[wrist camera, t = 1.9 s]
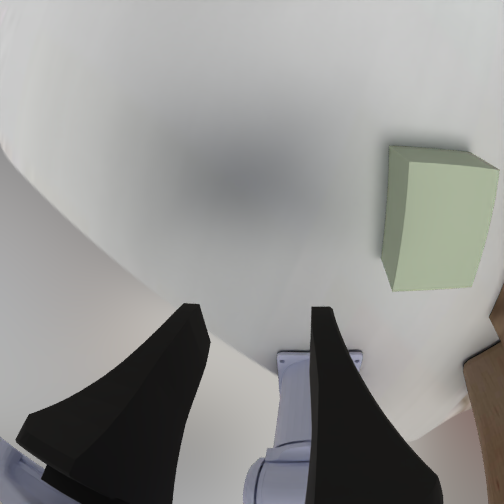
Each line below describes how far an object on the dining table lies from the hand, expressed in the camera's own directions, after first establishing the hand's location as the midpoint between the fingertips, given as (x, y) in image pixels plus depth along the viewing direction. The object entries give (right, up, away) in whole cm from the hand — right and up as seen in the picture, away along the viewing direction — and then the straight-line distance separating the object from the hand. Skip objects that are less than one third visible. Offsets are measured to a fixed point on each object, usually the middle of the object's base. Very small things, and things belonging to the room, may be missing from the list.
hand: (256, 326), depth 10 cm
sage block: (+11, +6, +7) cm, 15 cm away
